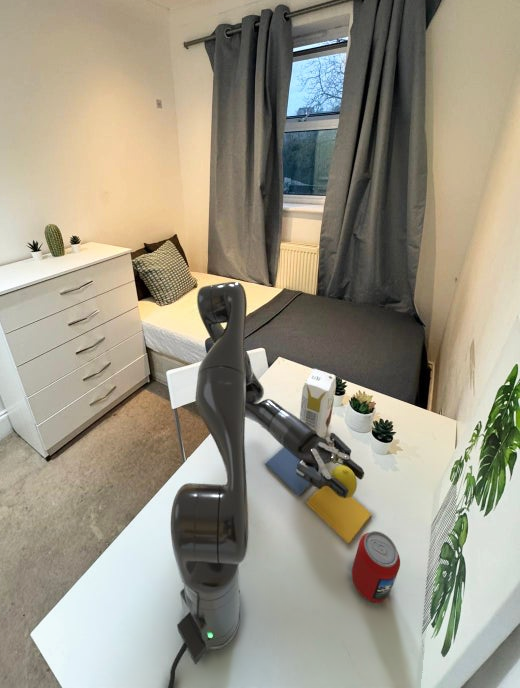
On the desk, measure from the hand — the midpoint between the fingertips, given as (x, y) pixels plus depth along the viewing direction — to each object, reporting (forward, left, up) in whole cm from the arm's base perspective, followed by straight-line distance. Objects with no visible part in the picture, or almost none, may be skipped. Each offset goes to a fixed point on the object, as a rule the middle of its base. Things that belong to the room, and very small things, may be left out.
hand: (355, 484), depth 68 cm
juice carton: (+14, +19, -12) cm, 27 cm away
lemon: (0, +3, -6) cm, 7 cm away
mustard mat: (0, +2, -12) cm, 12 cm away
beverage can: (-7, -9, -12) cm, 17 cm away
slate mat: (0, +15, -12) cm, 19 cm away
